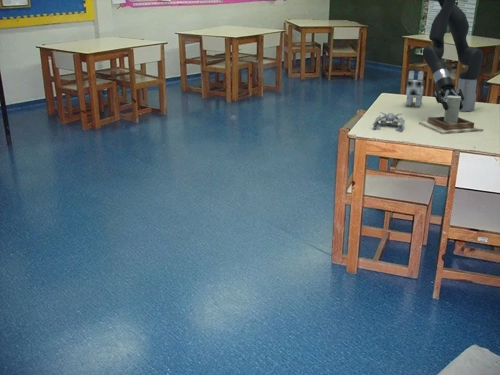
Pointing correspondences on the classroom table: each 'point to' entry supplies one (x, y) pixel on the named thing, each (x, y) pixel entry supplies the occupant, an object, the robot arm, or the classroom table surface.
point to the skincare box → (452, 109)
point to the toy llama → (414, 89)
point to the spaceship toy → (389, 118)
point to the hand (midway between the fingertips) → (454, 109)
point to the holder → (450, 125)
